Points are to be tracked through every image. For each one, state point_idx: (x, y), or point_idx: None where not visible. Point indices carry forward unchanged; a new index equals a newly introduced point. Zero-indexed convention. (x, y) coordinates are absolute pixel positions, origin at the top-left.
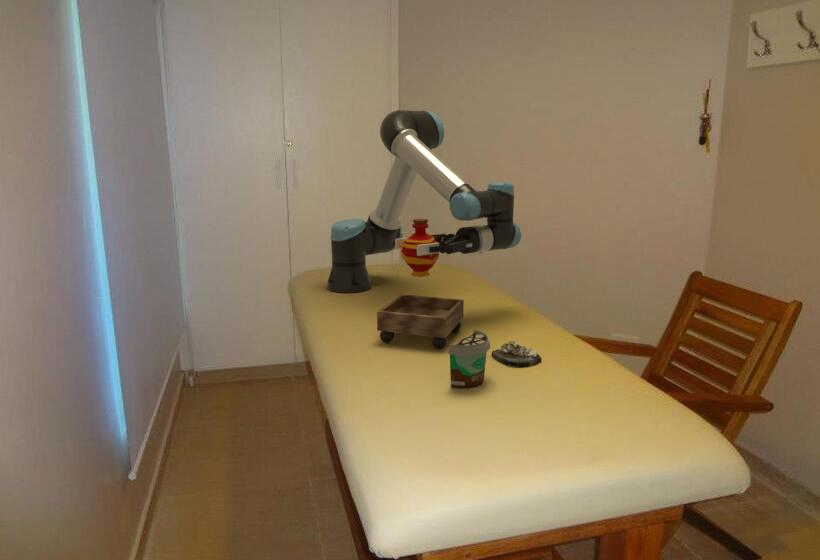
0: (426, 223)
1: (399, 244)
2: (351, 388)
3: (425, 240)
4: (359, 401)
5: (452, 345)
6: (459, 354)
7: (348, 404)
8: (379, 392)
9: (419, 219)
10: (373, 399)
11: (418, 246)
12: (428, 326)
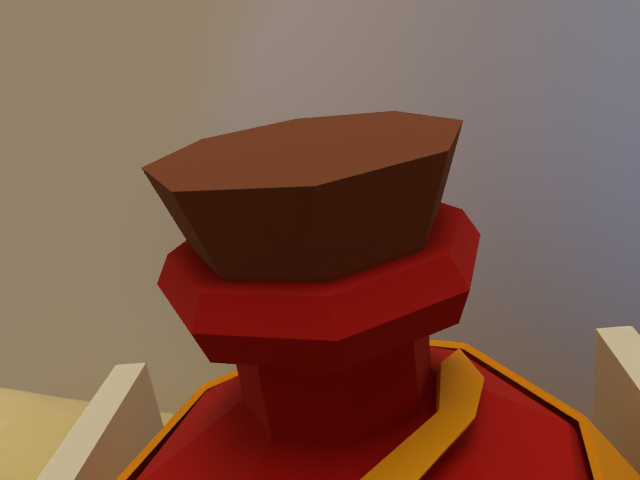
0: (208, 257)
1: (607, 409)
2: None
3: (150, 443)
4: (33, 424)
5: None
6: None
7: (45, 407)
8: (18, 465)
9: (344, 140)
10: (9, 445)
11: (119, 376)
12: None
